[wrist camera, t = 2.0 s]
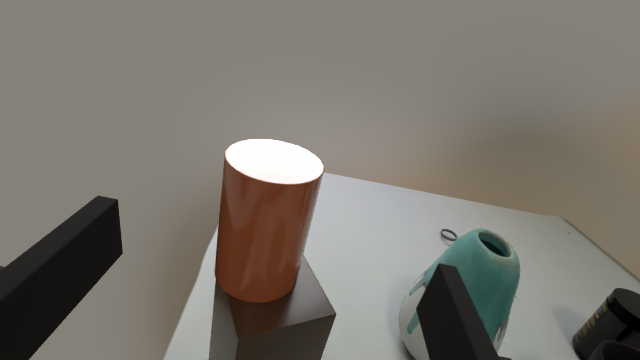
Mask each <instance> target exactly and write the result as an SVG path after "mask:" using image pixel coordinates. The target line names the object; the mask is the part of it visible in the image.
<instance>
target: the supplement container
mask: <svg viewBox="0 0 640 360" xmlns="http://www.w3.org/2000/svg"><path fill="white" fill-rule="evenodd" d="M603 341H616V342H621V343H624V344H626V345H629V346H632V347H634V348H636V349H638V350H639V351H640V294H638V293H635V292H633V291H630V290H627V289H622V288H617V289H615V290H614V291H613V292H612V293H611V294H610V295H609V296H608V297H607V298H606V300H605V301H604V302H603V303H602V305H601V306H600V307H599V308H598V309H597V310H596V311H595V312H594V314H593V315H592V316H591V317H590V318H589V319H588V320H587V321H586V323H585V324H584V325H583V326H582V327H581V328H580V329H579V330H578V332H577V333H576V334H575V335H574V336H573V339H572V343H573V347H574V349H575V351H576V353H577V354H578V356H579V357H580V358H581V359H582V360H588V359H589V357H590V356H591V355H592V353H593V352H594V350H595V349H596V348H597V346H598V345H599V343H601V342H603Z"/></svg>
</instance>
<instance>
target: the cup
mask: <svg viewBox="0 0 640 360" xmlns="http://www.w3.org/2000/svg"><path fill="white" fill-rule="evenodd" d="M588 360H640V351H639V350H638V349H636V348H634V347H632V346H629V345H626V344H624V343H621V342H616V341H603V342H601V343H599V345H598V346H597V348H596V349H595V350H594V352H593V353H592V355H591V356H590V357H589V359H588Z"/></svg>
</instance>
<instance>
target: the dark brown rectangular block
mask: <svg viewBox="0 0 640 360" xmlns="http://www.w3.org/2000/svg"><path fill="white" fill-rule="evenodd" d="M335 317H336V313H335V311H334V309H333V307H332V305H331V304H330V302H329V300H328V298H327V296H326V295H325V293H324V291H323V289H322V287H321V286H320V284H319V282H318V280H317V279H316V277H315V275H314V273H313V271H312V270H311V268H310V266H309V264H308V262H307V261H306V259H305V257H304V255H303V257H302V261H301V265H300V269H299V273H298V277H297V281H296V283H295V285H294V287H293V288H292V290H291V291H290V292H289V293H287V294H286V295H285V296H283V297H281V298H279V299H277V300H274V301H270V302H264V303H252V302H246V301H242V300H239V299H237V298H234V297H233V296H231V295H229V294H228V293H226V292H225V291H224V290H223V289H222V288H221V287H220V285H219V284H218V282H217V280H216V284H215V295H214V307H213V318H212V329H211V340H210V351H209V360H321V357H322V354H323V351H324V348H325V345H326V342H327V340H328V337H329V334H330V331H331V328H332V325H333V322H334V320H335Z"/></svg>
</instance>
